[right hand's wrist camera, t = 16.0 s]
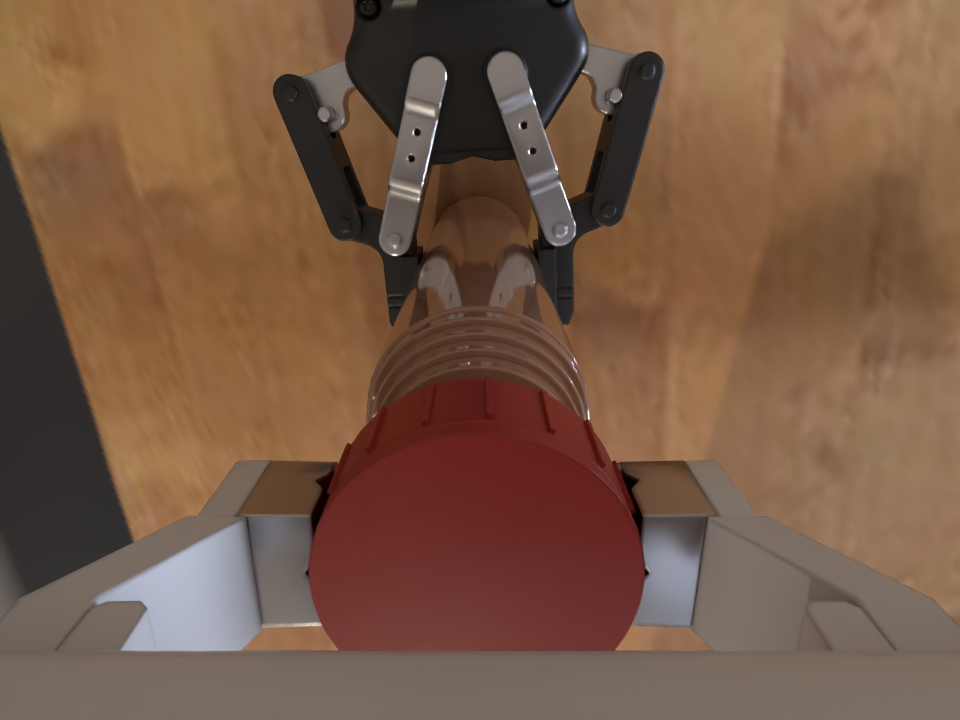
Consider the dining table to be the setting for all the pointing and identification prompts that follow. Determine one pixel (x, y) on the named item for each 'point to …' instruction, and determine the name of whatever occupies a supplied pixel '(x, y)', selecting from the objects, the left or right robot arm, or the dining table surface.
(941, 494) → the dining table surface
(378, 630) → the cap
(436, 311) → the bottle
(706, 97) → the dining table surface
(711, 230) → the dining table surface
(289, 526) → the right robot arm
